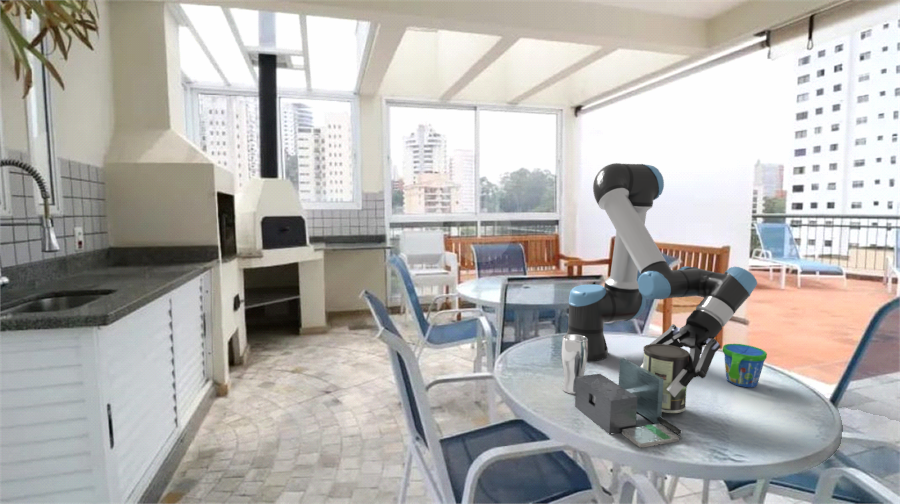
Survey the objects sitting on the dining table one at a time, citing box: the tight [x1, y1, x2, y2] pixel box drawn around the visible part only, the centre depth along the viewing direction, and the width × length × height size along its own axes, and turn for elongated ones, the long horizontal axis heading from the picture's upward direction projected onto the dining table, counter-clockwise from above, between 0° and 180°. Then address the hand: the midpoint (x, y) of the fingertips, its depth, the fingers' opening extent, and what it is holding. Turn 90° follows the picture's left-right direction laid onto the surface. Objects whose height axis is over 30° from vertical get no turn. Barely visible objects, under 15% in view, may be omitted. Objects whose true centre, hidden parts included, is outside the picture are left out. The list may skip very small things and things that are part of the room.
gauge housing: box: [574, 373, 682, 449], centre depth 104 cm, size 20×14×8 cm, turn 16°
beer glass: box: [561, 333, 588, 395], centre depth 121 cm, size 7×7×15 cm
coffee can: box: [642, 343, 690, 414], centre depth 110 cm, size 10×10×14 cm
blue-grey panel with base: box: [592, 357, 682, 435], centre depth 104 cm, size 20×13×11 cm, turn 16°
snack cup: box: [722, 343, 768, 388], centre depth 127 cm, size 16×10×10 cm
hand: (654, 384), depth 109 cm, fingers closed on coffee can, 10 cm apart
